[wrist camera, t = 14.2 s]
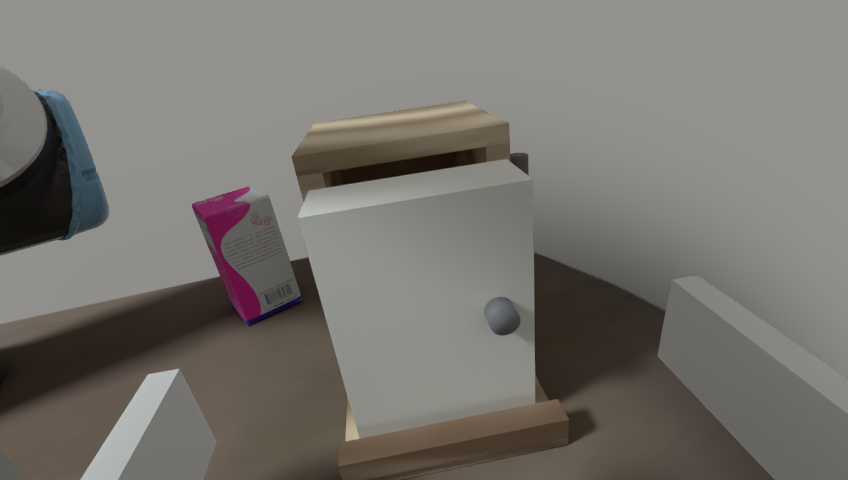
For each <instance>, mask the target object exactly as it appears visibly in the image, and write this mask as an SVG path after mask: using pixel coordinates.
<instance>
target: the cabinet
mask: <svg viewBox="0 0 848 480" xmlns="http://www.w3.org/2000/svg"><path fill="white" fill-rule="evenodd" d="M503 159H507V160H509V161H510V162H511V163H512V164H514V165H515V166H516V167H518V168H519V169H520V170H522V171H523V172H524V173H525V174H527V175H528V154H526V153H513V154H510V137H509V123H508V122H506V121H504V120H502V119H500V118H498V117H496V116H494V115H492V114H490V113H488V112H486V111H484V110H482V109H480V108H478V107H476V106H474V105H472V104H470V103H468V102H466V101H460V102H454V103H448V104H440V105H434V106H427V107H420V108H414V109H407V110H401V111H394V112H387V113H381V114H374V115H368V116H360V117H353V118H347V119H341V120H334V121H327V122H320V123H314V125H313V126H312V127H311V129H310V131H309V132H308V133H307V135H306V136H305V138H304V139H303V141H302V142H301V143H300V145H299V147H298V148H297V149H296V151H295V152H294V154H293V155H292V160H293V164H294V168H295V172H296V175H297V179H298V183H299V187H300V190H301V194H302V198H303V201H305V198H306V196H307V193H308V191H309V190H316V189H322V188H328V187H334V186H341V185H347V184H353V183H359V182H366V181H372V180H378V179H384V178H391V177H397V176H403V175H409V174H416V173H422V172H428V171H435V170H441V169H447V168H453V167H460V166H466V165H472V164H478V163H485V162H491V161H497V160H503ZM568 437H569V418H568V416H567V415H566V413H565V411H564V409H563V407H562V406H561V404H560V402H559V400H558V399H555V400H550V401H549V400H548V398H547V396H546V394H545V392H544V390H543V388H542V387H541V385H540V383H539V381H538V379H537V377H536V375H535V404H530V405H525V406H520V407H515V408H510V409H505V410H500V411H495V412H490V413H485V414H480V415H475V416H470V417H465V418H460V419H455V420H450V421H445V422H440V423H435V424H430V425H425V426H420V427H415V428H410V429H405V430H400V431H395V432H390V433H386V434H381V435H376V436H371V437H366V438H361V439H359V435H358V432H357V428H356V424H355V421H354V417H353V414H352V410H351V407H350V403H349V400H347V420H346V441H345V442H341V443H339V452H338V470H339V473H340V476H341V479H342V480H402V479H407V478H412V477H416V476H421V475H426V474H431V473H436V472H440V471H445V470H450V469H455V468H460V467H464V466H469V465H474V464H479V463H484V462H488V461H493V460H498V459H503V458H508V457H512V456H517V455H522V454H527V453H532V452H536V451H541V450H546V449H551V448H556V447H560V446H565V445H568Z"/></svg>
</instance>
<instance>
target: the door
mask: <svg viewBox="0 0 848 480" xmlns="http://www.w3.org/2000/svg"><path fill="white" fill-rule="evenodd" d="M533 219H534V218H533V179H532V178H531V177H529V176H528V175H527V174H525V173H524V172H523V171H522V170H520V169H519V168H518V167H516V166H515V165H514V164H512V163H511V162H510V161H509V160H507V159H503V160H497V161H491V162H485V163H478V164H472V165H466V166H460V167H453V168H447V169H441V170H435V171H428V172H422V173H416V174H409V175H403V176H397V177H391V178H384V179H378V180H372V181H366V182H359V183H353V184H347V185H341V186H334V187H328V188H322V189H316V190H309V191H308V193H307V196H306V198H305V201H304V203H303V206H302V208H301V211H300V213H299V216H298V221H299V225H300V229H301V232H302V235H303V239H304V243H305V246H306V250H307V253H308V257H309V261H310V264H311V268H312V271H313V275H314V278H315V282H316V286H317V289H318V293H319V296H320V300H321V303H322V307H323V310H324V314H325V318H326V321H327V325H328V328H329V332H330V335H331V339H332V343H333V346H334V350H335V353H336V357H337V360H338V364H339V367H340V371H341V375H342V378H343V382H344V385H345V389H346V392H347V396H348V400H349V403H350V407H351V410H352V414H353V417H354V421H355V424H356V428H357V432H358V435H359V439H361V438H366V437H371V436H376V435H381V434H386V433H390V432H395V431H400V430H405V429H410V428H415V427H420V426H425V425H430V424H435V423H440V422H445V421H450V420H455V419H460V418H465V417H470V416H475V415H480V414H485V413H490V412H495V411H500V410H505V409H510V408H515V407H520V406H525V405H530V404H535V318H534V221H533Z"/></svg>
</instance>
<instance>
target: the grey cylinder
mask: <svg viewBox="0 0 848 480" xmlns="http://www.w3.org/2000/svg"><path fill="white" fill-rule="evenodd" d="M0 480H25V479H24V478H23V477H22V476H21V474H20V473H19V472H18V471H17V470H16V469H15V467H14V466H13V465H12V464H11V463H10V461H9V460H8V459H7V458H6V457H5V456H4V454H3V453H2V452H1V451H0Z"/></svg>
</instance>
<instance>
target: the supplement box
mask: <svg viewBox="0 0 848 480" xmlns="http://www.w3.org/2000/svg"><path fill="white" fill-rule="evenodd" d="M192 208H193V210H194V213H195V215H196V218H197V220H198V223H199V225H200V228H201V230H202V232H203V234H204V237H205V240H206V242H207V245H208V247H209V250H210V252H211V254H212V257H213V259H214V262H215V264H216V266H217V269H218V271H219V274H220V276H221V279H222V281H223V284H224V286H225V289H226V291H227V294H228V296H229V299H230V301H231V303H232V305H233V306H234V308H235V309H236V311H237V312H238V313H239V315H240V316H241V318H242V319H243V321H244V322H245V323H246V324H247V325H248V326H250V325H252V324H254V323H256V322H258V321H260V320H262V319H264V318H266V317H268V316H270V315H273V314H275V313H277V312H279V311H281V310H283V309H285V308H287V307H289V306H292V305H294V304H296V303H298V302H300V301H302V297H301V294H300V291H299V288H298V285H297V281H296V278H295V275H294V272H293V269H292V266H291V263H290V260H289V257H288V254H287V251H286V248H285V245H284V241H283V238H282V235H281V232H280V229H279V226H278V223H277V220H276V217H275V214H274V211H273V208H272V204H271V201H270V198H269V196H268V195H266V194H264V193H262V192H259V191H258V190H256V189H254V188H252V187H250V186H249V187H246V188H242V189H239V190H236V191H232V192H229V193H226V194H223V195H220V196H216V197H213V198H210V199H206V200H203V201H200V202H196V203H194V204H192Z"/></svg>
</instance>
